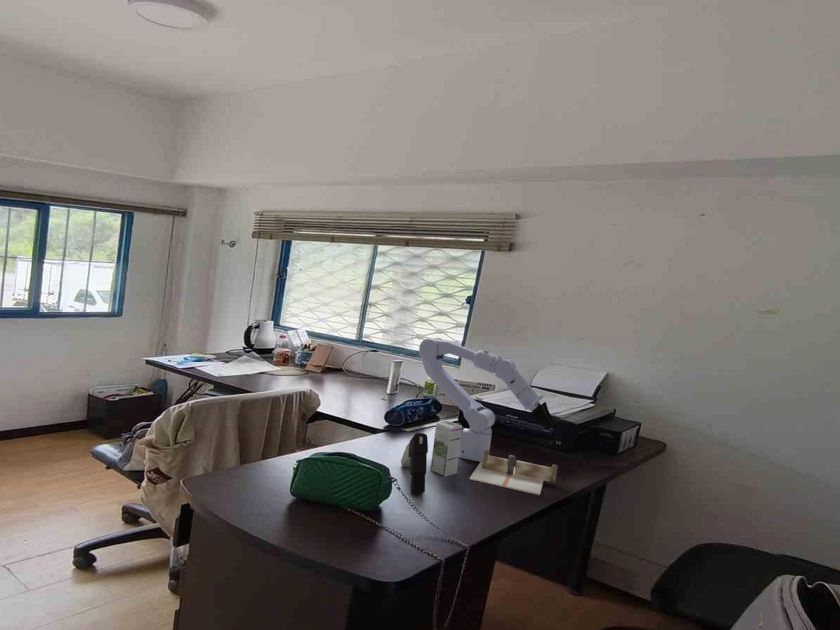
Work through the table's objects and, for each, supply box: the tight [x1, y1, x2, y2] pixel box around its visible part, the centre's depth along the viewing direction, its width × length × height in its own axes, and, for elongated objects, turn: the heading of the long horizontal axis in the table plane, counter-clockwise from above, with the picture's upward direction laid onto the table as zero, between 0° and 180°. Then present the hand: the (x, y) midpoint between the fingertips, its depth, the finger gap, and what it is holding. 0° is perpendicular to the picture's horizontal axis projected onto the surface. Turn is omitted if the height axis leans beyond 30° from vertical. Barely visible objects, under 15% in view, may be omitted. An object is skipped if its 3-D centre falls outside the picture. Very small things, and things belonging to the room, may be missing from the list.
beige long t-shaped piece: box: [514, 459, 558, 484], centre depth 171 cm, size 12×2×5 cm, turn 73°
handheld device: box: [400, 432, 429, 495], centre depth 158 cm, size 4×22×15 cm
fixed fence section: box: [482, 450, 517, 475], centre depth 174 cm, size 10×2×5 cm, turn 73°
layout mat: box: [469, 462, 544, 496], centre depth 172 cm, size 20×20×1 cm
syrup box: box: [430, 420, 463, 477], centre depth 167 cm, size 6×6×14 cm
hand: (551, 426), depth 177 cm, fingers open, 7 cm apart
